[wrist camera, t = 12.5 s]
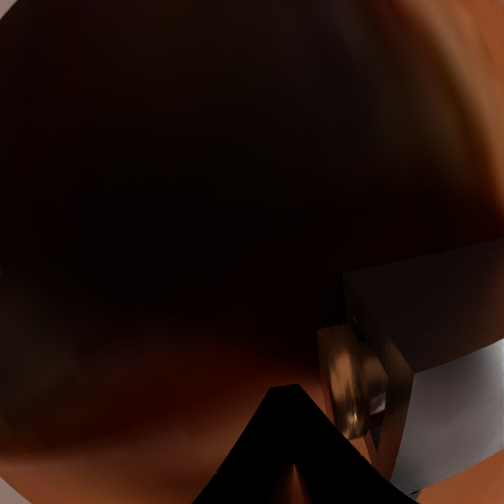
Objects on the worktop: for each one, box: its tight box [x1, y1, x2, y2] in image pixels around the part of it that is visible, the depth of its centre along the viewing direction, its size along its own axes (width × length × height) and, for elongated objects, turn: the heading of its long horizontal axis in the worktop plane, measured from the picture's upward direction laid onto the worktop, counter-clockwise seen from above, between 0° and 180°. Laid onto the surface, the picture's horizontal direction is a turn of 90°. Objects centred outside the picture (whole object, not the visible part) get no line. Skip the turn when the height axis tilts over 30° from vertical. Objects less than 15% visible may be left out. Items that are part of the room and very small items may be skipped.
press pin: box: [317, 324, 388, 441], centre depth 7 cm, size 3×9×3 cm, turn 101°
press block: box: [342, 237, 504, 494], centre depth 7 cm, size 5×8×5 cm, turn 101°
